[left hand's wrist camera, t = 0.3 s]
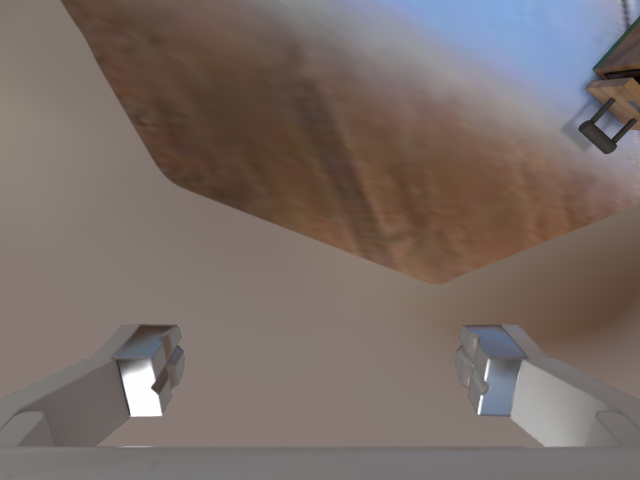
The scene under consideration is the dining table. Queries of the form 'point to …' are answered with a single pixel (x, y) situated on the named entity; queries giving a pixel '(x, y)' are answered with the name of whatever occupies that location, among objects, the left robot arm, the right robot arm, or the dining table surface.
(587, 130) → the drawer
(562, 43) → the dining table surface
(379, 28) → the dining table surface
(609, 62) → the cabinet
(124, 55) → the dining table surface
